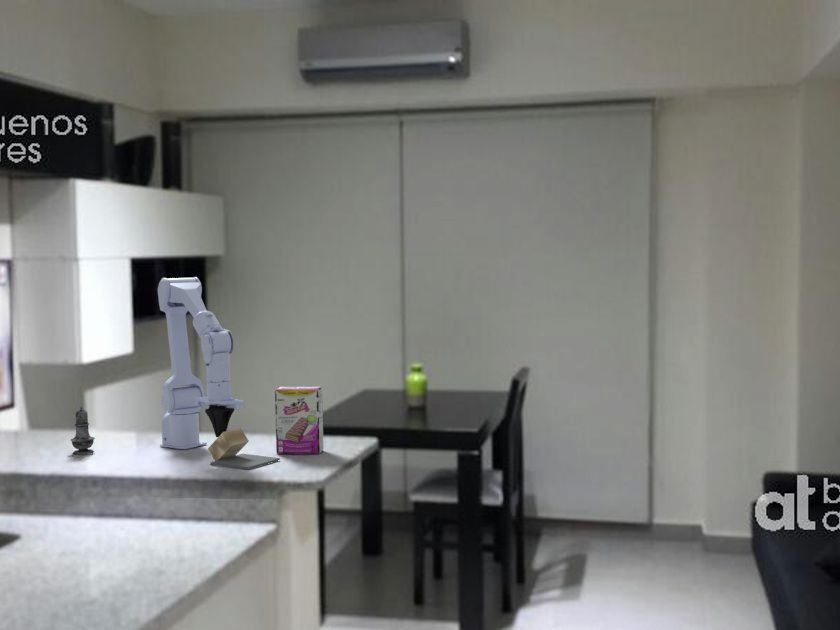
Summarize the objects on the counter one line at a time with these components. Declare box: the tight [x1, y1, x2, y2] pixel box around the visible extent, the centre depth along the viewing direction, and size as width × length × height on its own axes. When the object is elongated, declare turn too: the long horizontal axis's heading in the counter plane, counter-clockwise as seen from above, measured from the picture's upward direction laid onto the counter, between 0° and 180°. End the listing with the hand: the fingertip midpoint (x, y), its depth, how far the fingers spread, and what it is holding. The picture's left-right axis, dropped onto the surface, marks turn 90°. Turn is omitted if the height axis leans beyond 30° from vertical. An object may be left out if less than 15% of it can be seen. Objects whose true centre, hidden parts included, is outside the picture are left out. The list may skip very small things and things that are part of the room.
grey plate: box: [209, 453, 281, 471], centre depth 225 cm, size 12×11×1 cm
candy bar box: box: [274, 386, 324, 455], centre depth 235 cm, size 11×5×16 cm, turn 84°
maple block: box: [207, 427, 250, 461], centre depth 228 cm, size 4×6×7 cm
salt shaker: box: [70, 406, 96, 456], centre depth 242 cm, size 6×6×12 cm
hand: (220, 436), depth 229 cm, fingers closed
